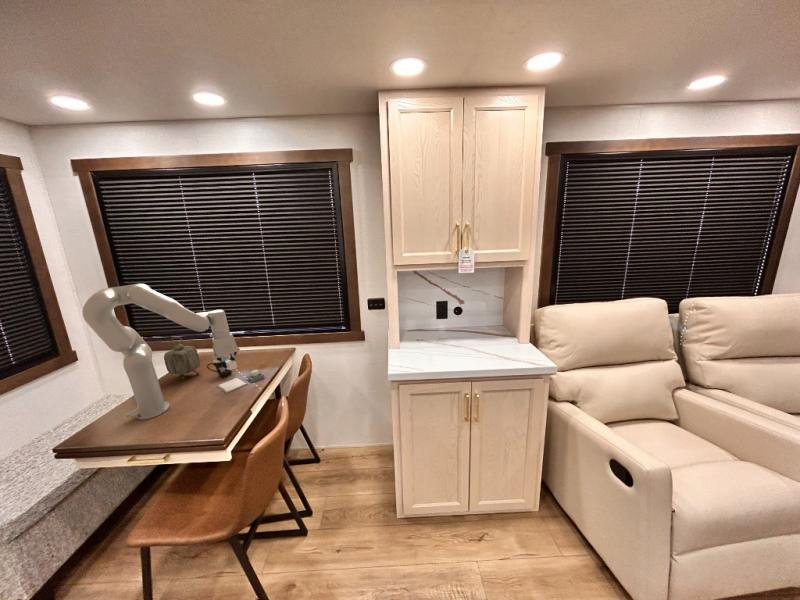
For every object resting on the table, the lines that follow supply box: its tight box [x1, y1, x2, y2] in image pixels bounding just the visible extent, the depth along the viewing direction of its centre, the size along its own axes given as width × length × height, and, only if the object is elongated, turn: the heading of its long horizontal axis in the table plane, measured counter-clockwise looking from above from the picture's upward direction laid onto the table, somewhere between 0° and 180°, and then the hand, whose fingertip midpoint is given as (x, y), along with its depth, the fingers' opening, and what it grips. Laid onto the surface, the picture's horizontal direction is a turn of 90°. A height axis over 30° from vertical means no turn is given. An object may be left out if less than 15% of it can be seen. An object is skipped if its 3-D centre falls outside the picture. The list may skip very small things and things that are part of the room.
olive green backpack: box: [163, 336, 201, 380], centre depth 174 cm, size 14×9×25 cm, turn 84°
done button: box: [250, 369, 260, 378], centre depth 168 cm, size 4×4×3 cm
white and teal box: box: [223, 359, 238, 370], centre depth 160 cm, size 4×11×4 cm, turn 50°
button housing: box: [246, 371, 265, 383], centre depth 169 cm, size 6×6×2 cm
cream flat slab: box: [216, 377, 249, 395], centre depth 163 cm, size 11×13×1 cm
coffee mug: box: [206, 355, 233, 379], centre depth 175 cm, size 12×9×10 cm
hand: (229, 365), depth 160 cm, fingers closed on white and teal box, 3 cm apart
